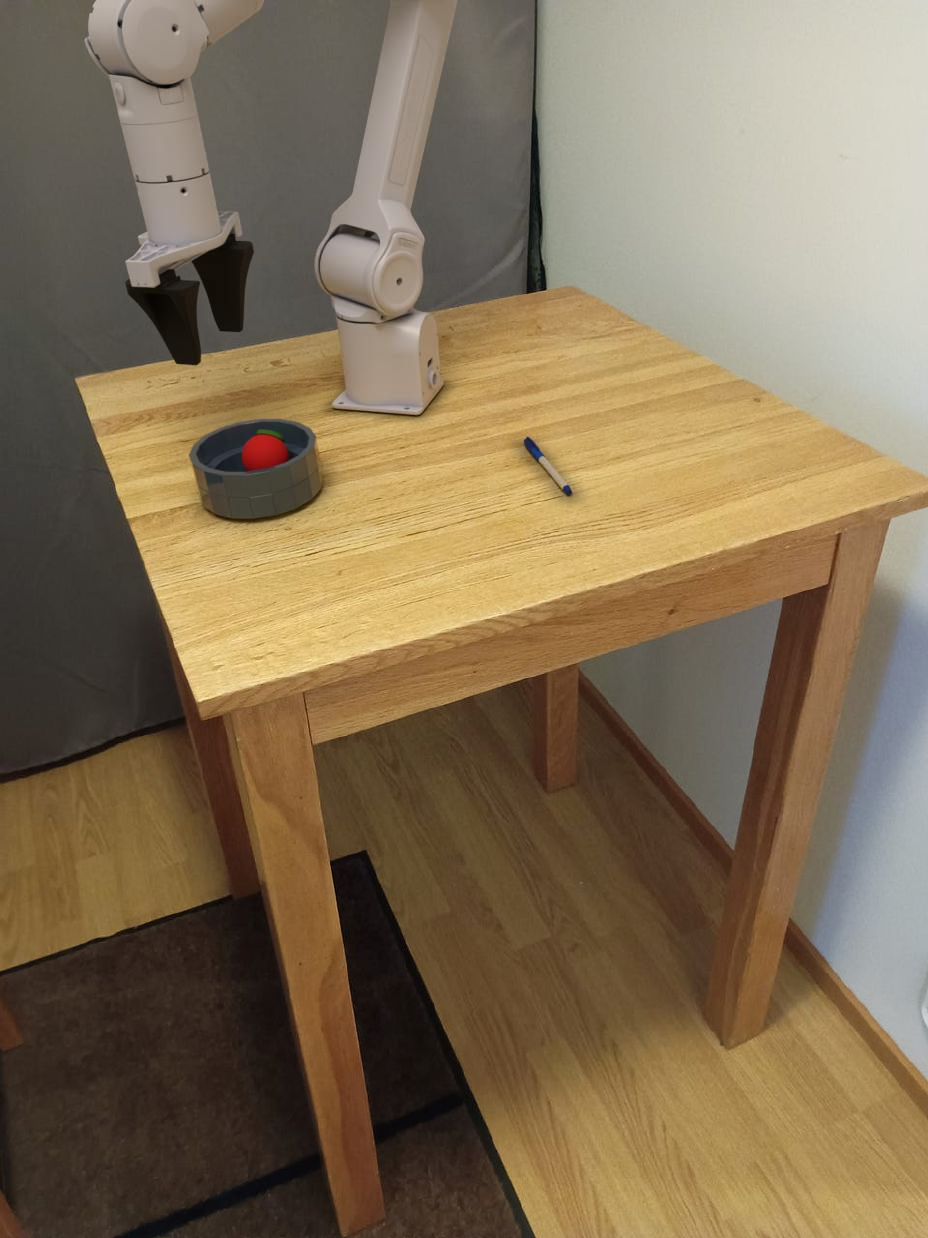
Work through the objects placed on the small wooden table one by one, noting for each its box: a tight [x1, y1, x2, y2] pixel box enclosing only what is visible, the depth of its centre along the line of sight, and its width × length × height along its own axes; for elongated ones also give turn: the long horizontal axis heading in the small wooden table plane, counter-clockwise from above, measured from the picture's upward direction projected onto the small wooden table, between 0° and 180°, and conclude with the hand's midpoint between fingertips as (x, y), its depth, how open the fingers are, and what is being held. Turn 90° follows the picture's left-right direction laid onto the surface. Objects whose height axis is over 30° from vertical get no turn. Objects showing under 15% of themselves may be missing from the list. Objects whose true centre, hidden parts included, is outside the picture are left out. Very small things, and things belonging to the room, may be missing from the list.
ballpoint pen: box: [523, 436, 573, 495], centre depth 80 cm, size 10×1×1 cm, turn 19°
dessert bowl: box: [188, 418, 324, 520], centre depth 79 cm, size 10×10×4 cm
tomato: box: [242, 429, 289, 472], centre depth 80 cm, size 4×4×4 cm
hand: (210, 346), depth 80 cm, fingers open, 7 cm apart
